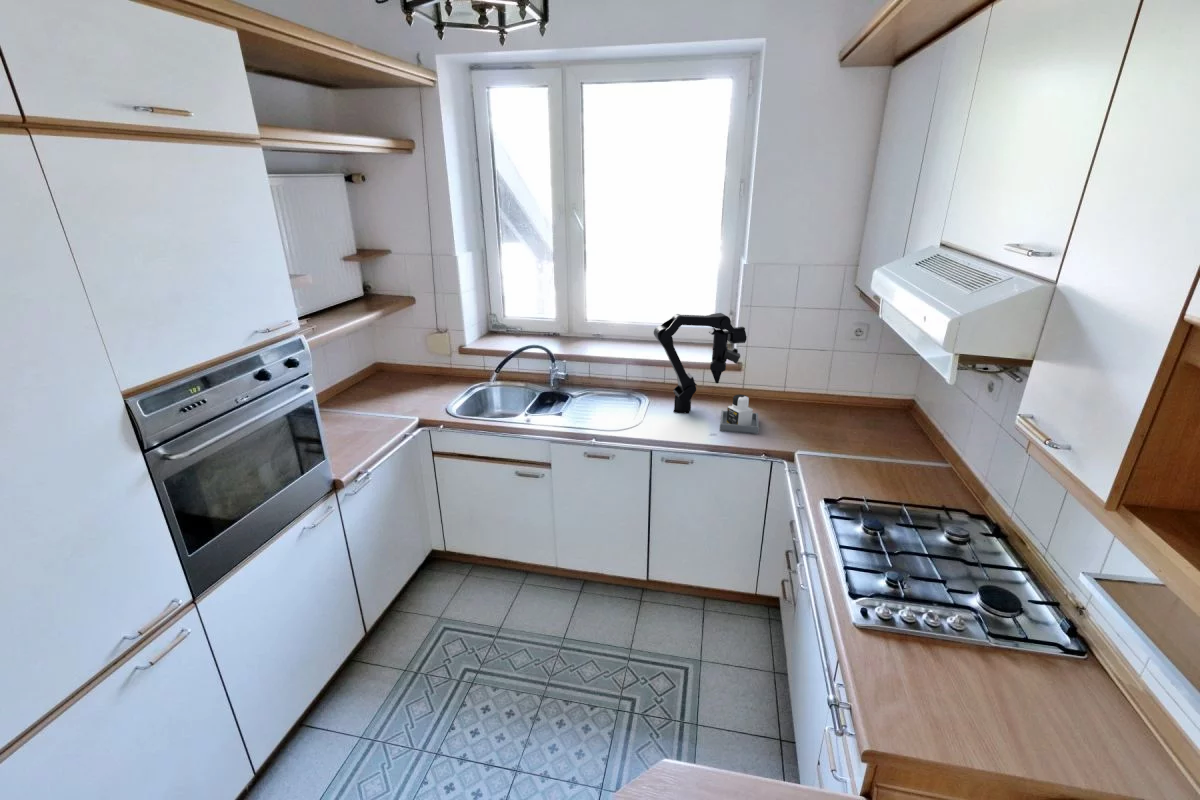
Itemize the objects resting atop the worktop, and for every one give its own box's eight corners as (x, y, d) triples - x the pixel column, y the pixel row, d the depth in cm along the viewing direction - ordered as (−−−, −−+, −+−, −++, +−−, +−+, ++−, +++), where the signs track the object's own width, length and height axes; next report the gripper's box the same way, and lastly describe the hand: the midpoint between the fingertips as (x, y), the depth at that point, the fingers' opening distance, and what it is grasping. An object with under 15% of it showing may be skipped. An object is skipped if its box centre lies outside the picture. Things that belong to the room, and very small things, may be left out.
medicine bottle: (726, 422, 227) (728, 394, 223) (740, 419, 230) (742, 391, 226) (737, 428, 221) (739, 400, 217) (751, 425, 224) (754, 397, 220)
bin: (719, 430, 221) (720, 423, 220) (721, 417, 234) (721, 410, 233) (758, 434, 218) (758, 427, 217) (757, 420, 231) (757, 413, 230)
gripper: (739, 351, 223) (736, 388, 229) (740, 339, 240) (737, 374, 246) (711, 349, 226) (708, 386, 231) (713, 338, 242) (711, 372, 248)
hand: (717, 379), depth 239 cm, fingers open, 9 cm apart
